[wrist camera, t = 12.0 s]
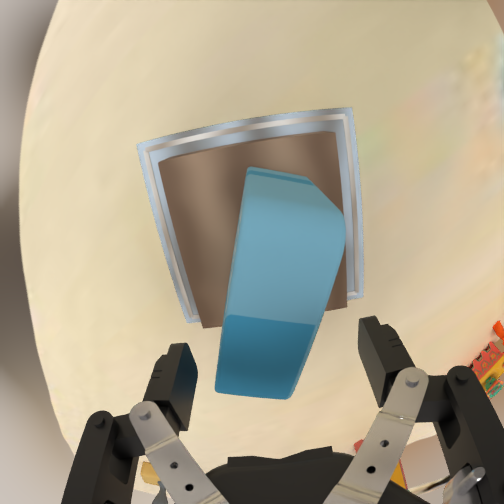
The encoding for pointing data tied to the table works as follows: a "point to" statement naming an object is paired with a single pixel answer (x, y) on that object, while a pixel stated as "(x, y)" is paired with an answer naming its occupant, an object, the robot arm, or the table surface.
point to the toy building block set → (487, 375)
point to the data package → (277, 283)
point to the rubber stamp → (154, 482)
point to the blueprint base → (231, 191)
